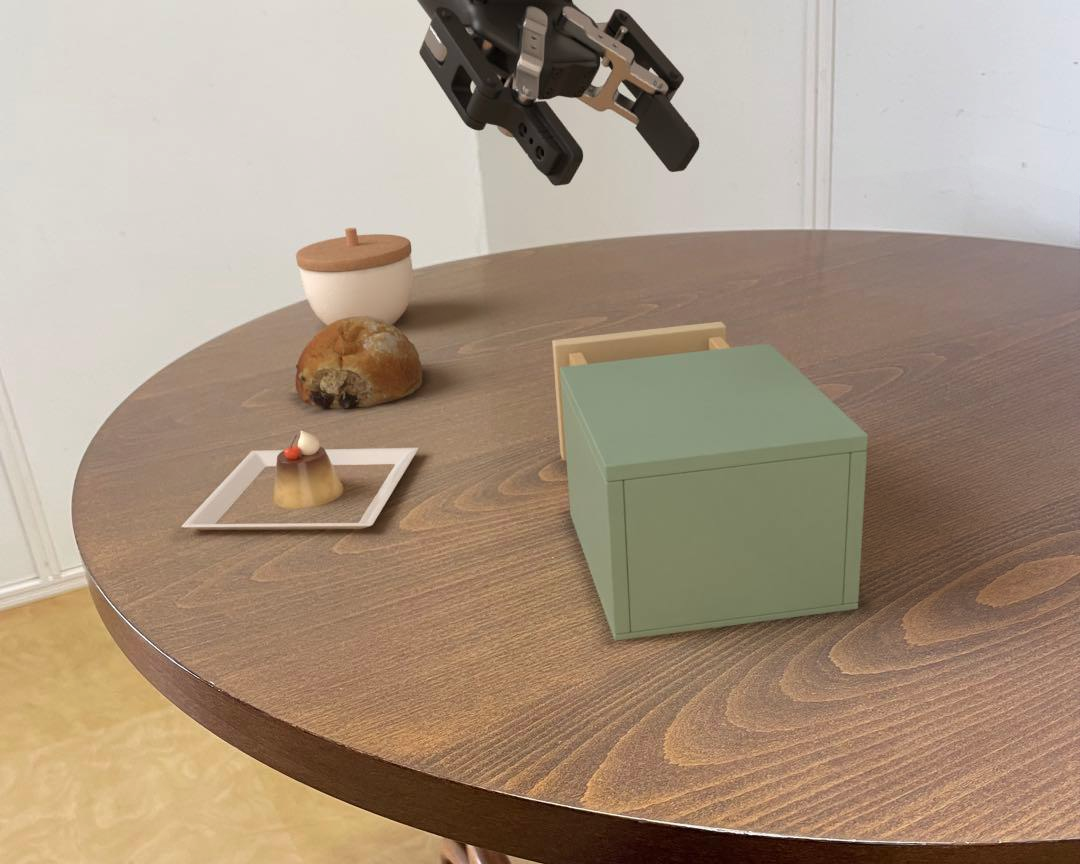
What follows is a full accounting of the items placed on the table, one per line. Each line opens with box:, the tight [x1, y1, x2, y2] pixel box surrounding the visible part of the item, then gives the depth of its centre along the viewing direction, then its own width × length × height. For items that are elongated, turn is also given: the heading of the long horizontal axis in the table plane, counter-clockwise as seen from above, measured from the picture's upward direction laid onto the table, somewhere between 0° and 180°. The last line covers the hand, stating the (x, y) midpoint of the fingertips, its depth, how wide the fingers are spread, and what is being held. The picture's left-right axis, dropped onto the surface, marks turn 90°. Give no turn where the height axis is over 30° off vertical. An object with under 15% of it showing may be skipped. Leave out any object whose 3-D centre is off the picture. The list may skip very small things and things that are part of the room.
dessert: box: [181, 430, 419, 531], centre depth 72 cm, size 12×12×5 cm
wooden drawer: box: [551, 321, 732, 462], centre depth 69 cm, size 18×11×8 cm, turn 7°
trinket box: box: [295, 227, 414, 326], centre depth 107 cm, size 11×11×9 cm
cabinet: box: [560, 342, 869, 641], centre depth 59 cm, size 15×12×10 cm
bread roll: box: [295, 316, 423, 410], centre depth 90 cm, size 10×10×8 cm
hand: (632, 165), depth 58 cm, fingers open, 8 cm apart
